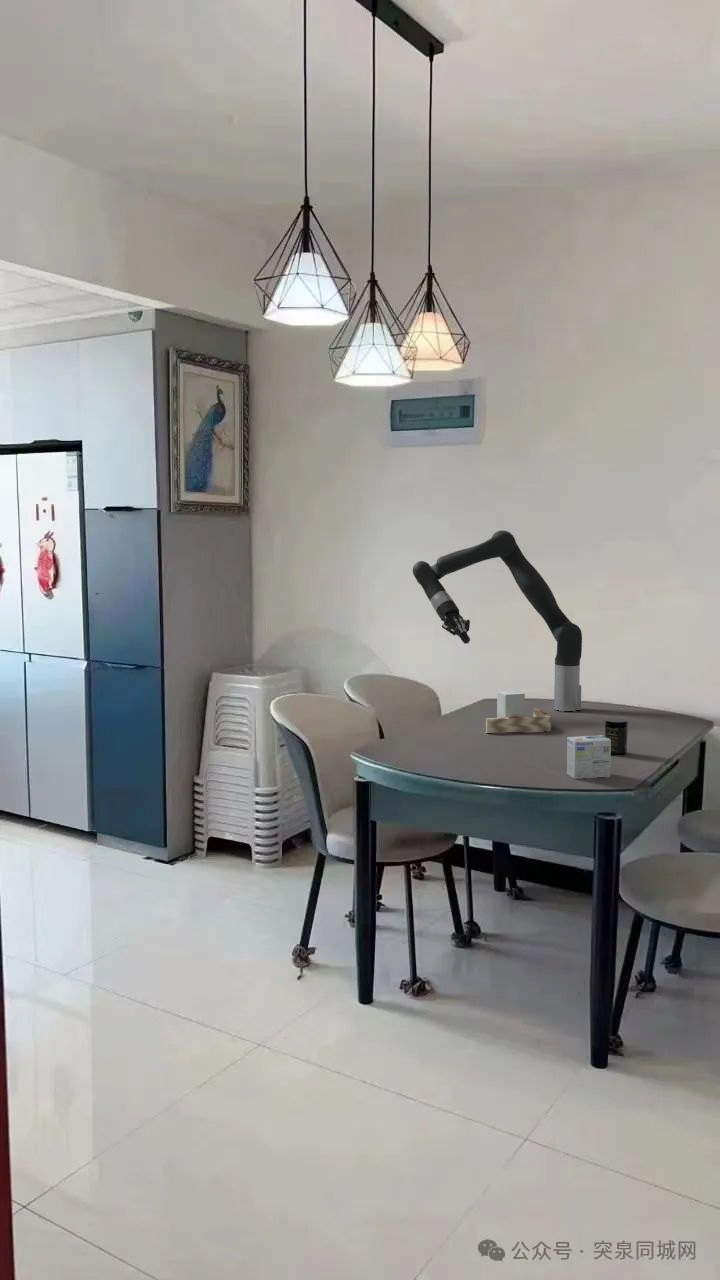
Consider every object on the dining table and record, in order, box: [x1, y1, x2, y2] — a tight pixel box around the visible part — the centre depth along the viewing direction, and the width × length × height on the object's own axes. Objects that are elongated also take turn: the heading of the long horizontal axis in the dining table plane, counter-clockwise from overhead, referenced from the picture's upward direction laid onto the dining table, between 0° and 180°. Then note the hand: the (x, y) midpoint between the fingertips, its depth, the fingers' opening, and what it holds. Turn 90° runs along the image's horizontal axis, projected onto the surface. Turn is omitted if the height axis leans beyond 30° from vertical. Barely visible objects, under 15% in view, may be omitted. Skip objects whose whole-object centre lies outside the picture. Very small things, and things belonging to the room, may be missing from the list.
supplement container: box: [604, 717, 629, 756], centre depth 298 cm, size 7×7×10 cm
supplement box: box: [496, 690, 526, 718], centre depth 335 cm, size 7×7×13 cm
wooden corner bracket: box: [485, 707, 552, 734], centre depth 337 cm, size 23×17×6 cm
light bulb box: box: [566, 734, 612, 780], centre depth 272 cm, size 11×7×11 cm, turn 99°
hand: (467, 642), depth 351 cm, fingers closed
